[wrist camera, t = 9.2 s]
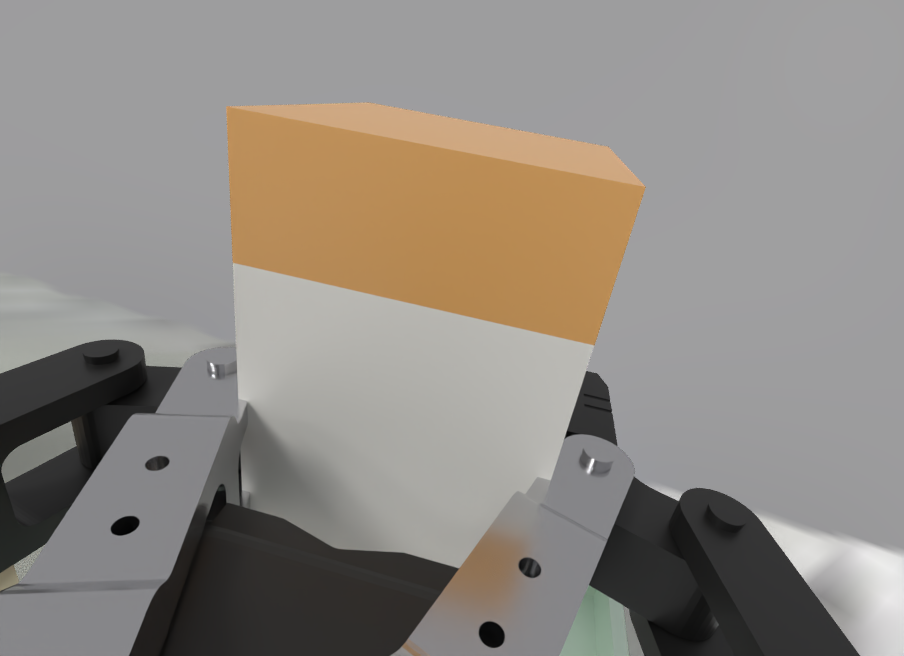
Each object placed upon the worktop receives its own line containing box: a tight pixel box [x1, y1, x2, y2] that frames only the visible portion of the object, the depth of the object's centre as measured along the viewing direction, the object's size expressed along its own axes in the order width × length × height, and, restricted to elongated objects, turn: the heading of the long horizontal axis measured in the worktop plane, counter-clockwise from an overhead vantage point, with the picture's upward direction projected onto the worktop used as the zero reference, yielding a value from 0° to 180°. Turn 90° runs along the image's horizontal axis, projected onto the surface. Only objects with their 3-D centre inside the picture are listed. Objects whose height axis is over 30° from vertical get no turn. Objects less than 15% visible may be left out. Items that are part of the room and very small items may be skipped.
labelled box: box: [226, 103, 646, 568], centre depth 11 cm, size 5×5×12 cm
